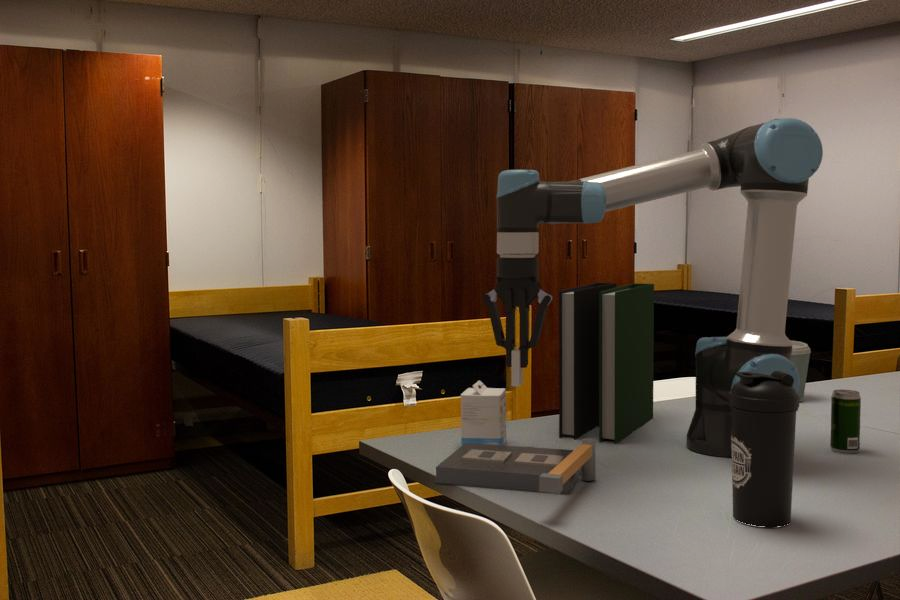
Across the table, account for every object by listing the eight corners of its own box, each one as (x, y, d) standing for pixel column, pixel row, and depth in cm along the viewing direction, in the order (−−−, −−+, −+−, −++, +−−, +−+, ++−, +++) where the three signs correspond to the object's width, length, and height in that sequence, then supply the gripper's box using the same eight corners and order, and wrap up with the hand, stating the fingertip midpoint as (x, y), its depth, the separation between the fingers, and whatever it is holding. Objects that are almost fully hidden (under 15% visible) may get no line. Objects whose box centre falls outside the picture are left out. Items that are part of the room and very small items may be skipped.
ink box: (501, 451, 177) (500, 387, 176) (460, 450, 178) (460, 386, 177) (506, 441, 185) (506, 379, 184) (468, 440, 187) (467, 378, 186)
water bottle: (716, 509, 139) (718, 368, 137) (778, 507, 140) (780, 366, 138) (743, 531, 129) (745, 379, 127) (809, 528, 130) (812, 377, 128)
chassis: (585, 466, 165) (585, 448, 165) (568, 494, 148) (568, 474, 148) (465, 457, 173) (465, 440, 172) (436, 483, 156) (435, 464, 155)
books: (619, 444, 181) (619, 292, 178) (553, 437, 188) (552, 290, 185) (653, 418, 205) (654, 283, 202) (593, 412, 212) (593, 282, 209)
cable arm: (581, 476, 158) (581, 437, 157) (599, 478, 156) (599, 438, 156) (539, 519, 135) (539, 474, 134) (559, 522, 133) (559, 476, 133)
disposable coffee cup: (817, 404, 218) (818, 345, 217) (774, 404, 218) (775, 345, 217) (800, 396, 229) (801, 339, 227) (759, 396, 229) (760, 340, 228)
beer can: (865, 452, 172) (867, 393, 171) (844, 455, 170) (846, 395, 169) (844, 446, 177) (846, 388, 176) (824, 448, 175) (825, 390, 174)
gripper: (557, 255, 158) (556, 383, 160) (488, 255, 162) (488, 379, 164) (549, 257, 151) (548, 390, 153) (477, 256, 155) (477, 386, 157)
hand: (517, 384), depth 158 cm, fingers closed
